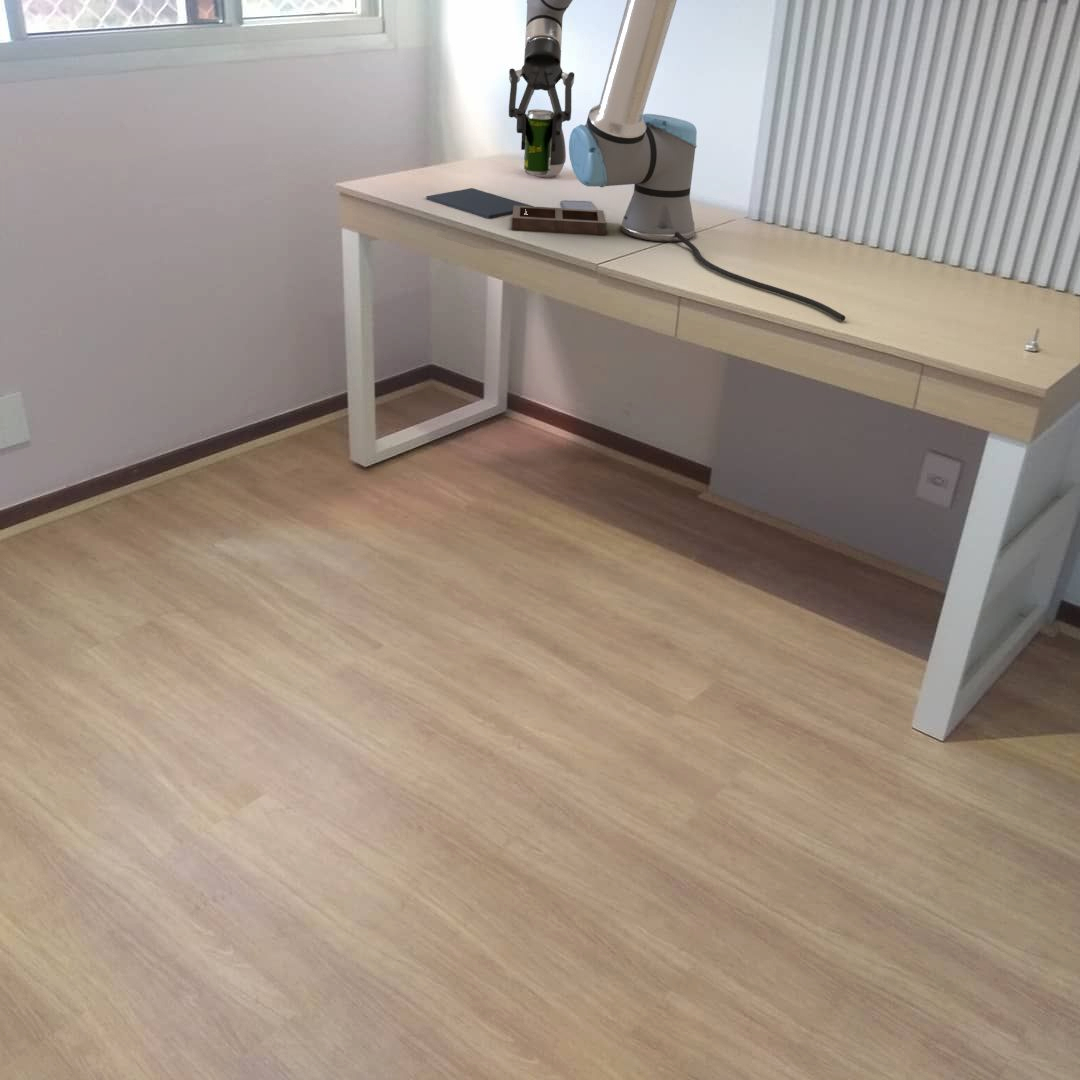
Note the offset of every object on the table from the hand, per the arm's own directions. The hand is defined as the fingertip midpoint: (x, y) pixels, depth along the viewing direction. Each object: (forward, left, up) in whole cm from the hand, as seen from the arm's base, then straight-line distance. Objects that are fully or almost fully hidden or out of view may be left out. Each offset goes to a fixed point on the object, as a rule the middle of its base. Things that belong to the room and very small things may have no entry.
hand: (538, 146), depth 234 cm
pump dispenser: (+33, -38, -17) cm, 52 cm away
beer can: (+3, -3, -6) cm, 7 cm away
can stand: (-2, -6, -17) cm, 17 cm away
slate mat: (+21, -5, -17) cm, 27 cm away
